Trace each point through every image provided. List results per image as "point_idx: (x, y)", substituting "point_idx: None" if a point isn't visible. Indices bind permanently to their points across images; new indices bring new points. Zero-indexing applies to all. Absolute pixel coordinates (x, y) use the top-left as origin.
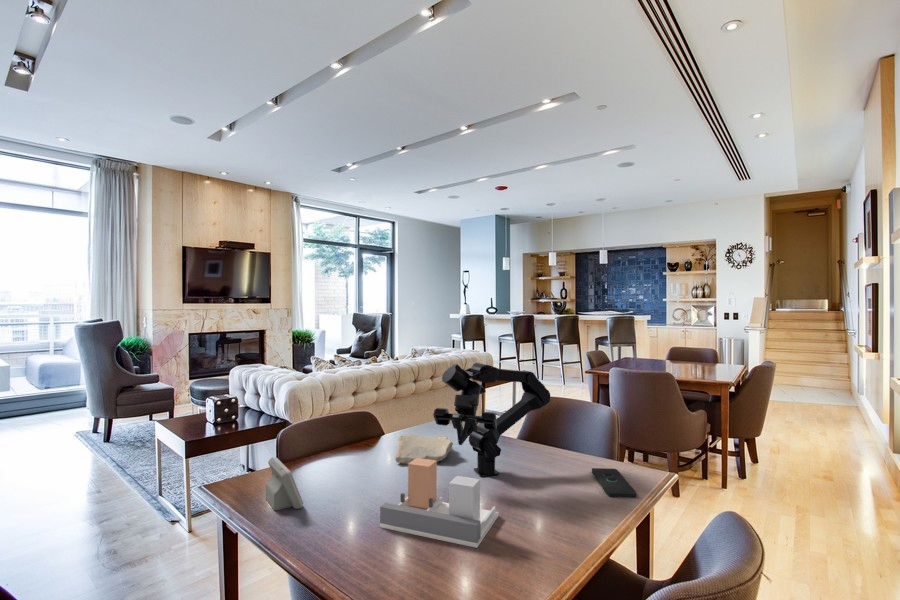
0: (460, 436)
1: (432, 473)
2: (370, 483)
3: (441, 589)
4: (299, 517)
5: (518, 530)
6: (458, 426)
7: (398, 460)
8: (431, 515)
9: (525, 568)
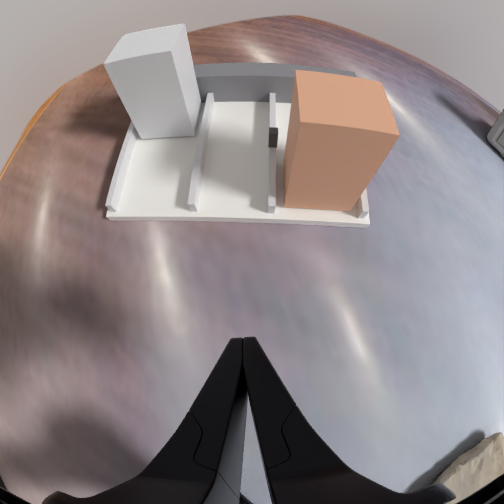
0: (245, 377)
1: (293, 117)
2: (492, 287)
3: None
4: (466, 117)
5: (75, 178)
6: (298, 459)
7: (491, 436)
8: (231, 65)
9: (84, 96)
